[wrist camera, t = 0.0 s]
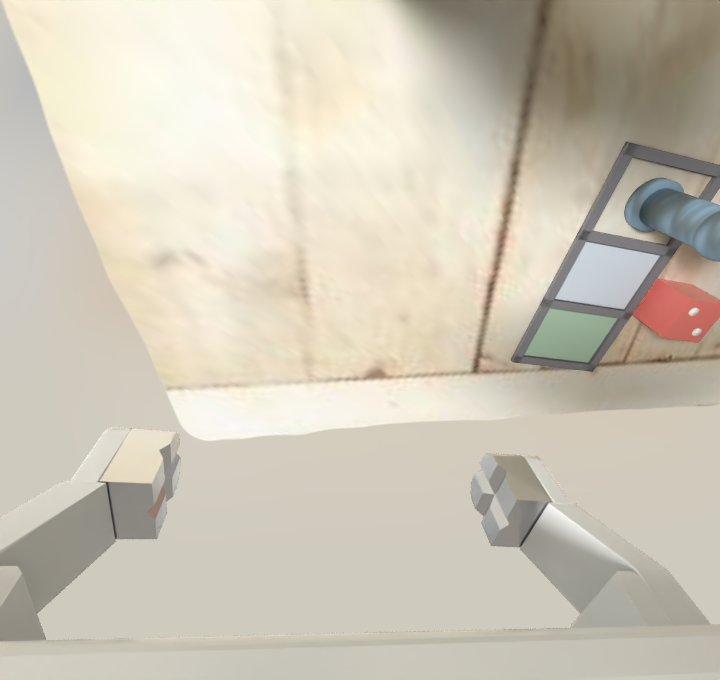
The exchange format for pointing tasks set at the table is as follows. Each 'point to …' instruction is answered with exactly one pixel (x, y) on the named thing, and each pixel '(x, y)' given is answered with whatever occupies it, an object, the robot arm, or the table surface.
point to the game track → (601, 279)
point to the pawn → (676, 215)
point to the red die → (678, 311)
